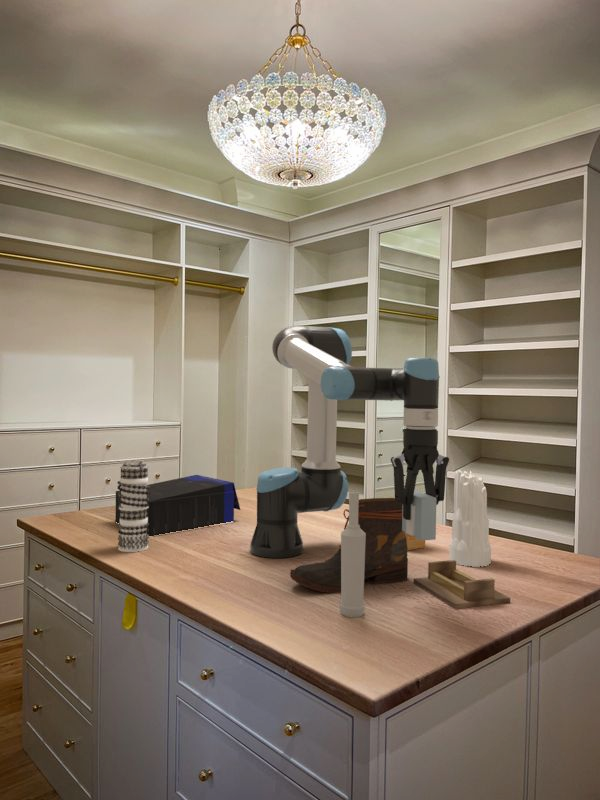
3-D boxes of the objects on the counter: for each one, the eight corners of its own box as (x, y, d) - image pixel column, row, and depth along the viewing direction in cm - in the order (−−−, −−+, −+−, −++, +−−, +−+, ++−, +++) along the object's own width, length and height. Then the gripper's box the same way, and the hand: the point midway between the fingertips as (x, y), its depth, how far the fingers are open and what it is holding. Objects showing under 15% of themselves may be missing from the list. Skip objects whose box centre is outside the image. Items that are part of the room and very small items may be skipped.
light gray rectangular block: (421, 540, 127) (421, 498, 127) (402, 530, 136) (402, 491, 135) (435, 539, 128) (436, 497, 128) (415, 529, 137) (416, 490, 136)
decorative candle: (110, 548, 171) (111, 461, 171) (138, 542, 178) (139, 459, 178) (127, 554, 165) (128, 464, 164) (156, 548, 172) (156, 461, 171)
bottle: (337, 608, 126) (339, 490, 125) (362, 608, 126) (363, 490, 126) (341, 617, 121) (343, 494, 120) (366, 617, 121) (368, 494, 121)
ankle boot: (281, 582, 143) (282, 499, 143) (392, 569, 154) (393, 492, 154) (299, 597, 132) (300, 508, 132) (417, 582, 144) (418, 500, 144)
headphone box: (240, 522, 208) (241, 481, 208) (149, 537, 185) (149, 491, 184) (202, 511, 226) (203, 473, 226) (115, 523, 203) (115, 482, 203)
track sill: (455, 608, 126) (455, 585, 126) (413, 582, 143) (413, 562, 143) (510, 602, 131) (510, 579, 131) (463, 577, 148) (463, 557, 148)
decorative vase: (491, 558, 166) (492, 468, 165) (490, 569, 156) (491, 473, 155) (451, 554, 169) (452, 466, 169) (447, 564, 159) (449, 471, 159)
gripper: (393, 429, 125) (392, 539, 126) (462, 428, 130) (461, 535, 130) (379, 427, 133) (377, 531, 133) (445, 426, 137) (443, 527, 138)
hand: (419, 533), depth 132 cm, fingers closed on light gray rectangular block, 3 cm apart
